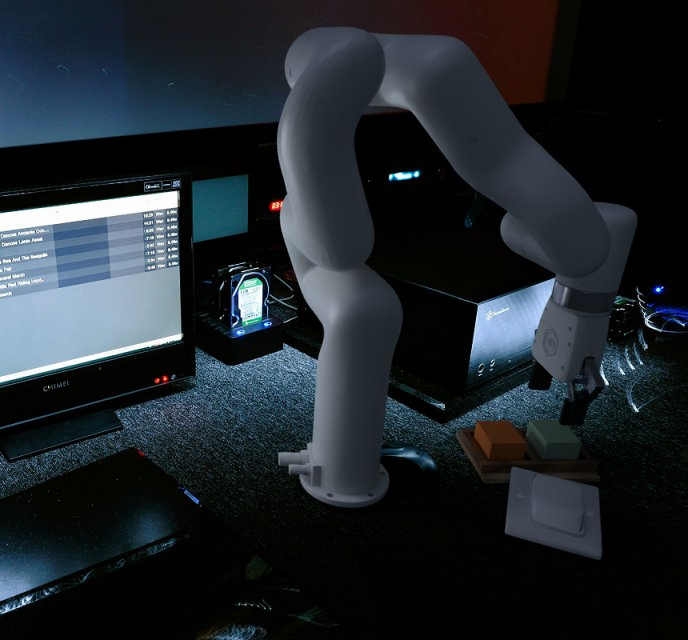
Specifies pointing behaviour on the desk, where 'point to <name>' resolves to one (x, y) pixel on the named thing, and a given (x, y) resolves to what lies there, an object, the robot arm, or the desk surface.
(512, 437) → the orange block
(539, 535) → the light switch
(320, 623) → the desk surface
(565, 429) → the green rectangular block
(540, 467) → the brown wooden tray
